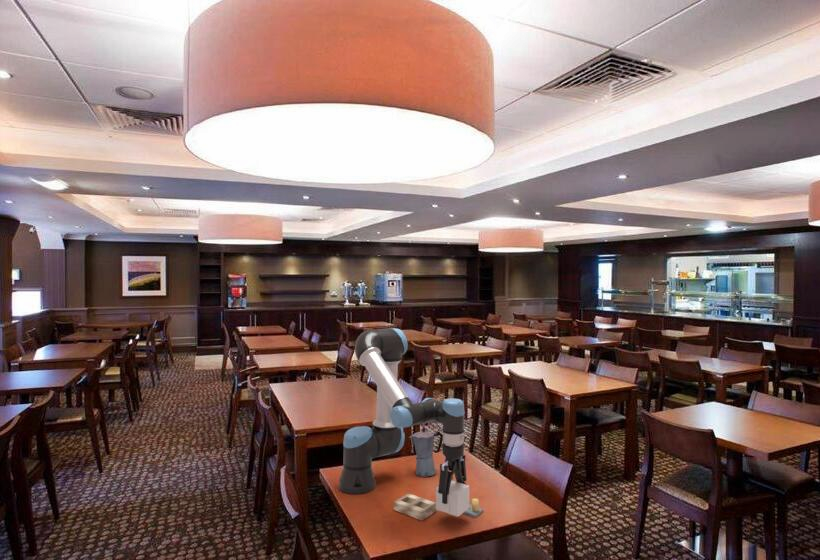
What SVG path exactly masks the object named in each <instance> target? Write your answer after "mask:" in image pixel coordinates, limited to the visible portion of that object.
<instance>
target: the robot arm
mask: <svg viewBox="0 0 820 560" xmlns="http://www.w3.org/2000/svg"><path fill="white" fill-rule="evenodd" d="M354 343H355V345H354V352H355V353H354V354H355V358H357V361H358V362H359V364H360V365H361V366H363V367H364V368H365V369H366V371H367V372H368V374H369V376H370V377H371V378H372V380H373V382H374V383H375V384H376V409H375V410H376V416H375V419H374V420H373V421H372V427H370V426H368V425H367V426H366V425H362V426H361V425H360V426H354V427H352V428H349V429H348V430H346V431H345V433H344V436H343V443H342V444H343V445H342V446H343V452H342V453H343V455H342V456H343V461H342V462H343V464H342V465H343V467H342V471H341V474H340V478H339V480H338V489H339V491H341V492H343V493H346V494H351V495H361V494H366V493H369V492H371V491H373V490H375V488H376V477H375V476H374V472H373V467H372V465H373V464H372V460H373V459H376V458H379V457H383V456H389V455H392V454H395V453H398V452H400V451H401V449H403V446H404V445H405V440H406V439H405V434H406V433H405V432H404V428H409V427H414V426H417V425H421V424H422V425H423V424H427V423H431V422H432V423H433V422H437V423H439V424H442V435H443V441H442V455H443V456H444V457H445V459H444V463H440V464H439V470H440V472H439V481H438V485H439V489H438V493H440V494H442V511H443V513H445V512H446V514H448V513H450V494H449V489H450V484H451V480H452V475H453V476H454V477H455V482H459V483H462V484H466V485H467V469H466V457H467V456H466V455H465V454H464V452H465V447H464V446H465V444H464V443H465V442H464V441H465V440H464V439H465V435H464V434H465V433H464V432H465V404H464V401H463V400H462V399H460V398H453V397H452V398H451V397H449V398H446V399H444V400H443V401H441V400H439V399H436V398H432V397H426V398H424V399H423V400H422V401H421V402H417V403H416V402H414V403H413V402H412V400H411V399H410V397H409V396H408V394H407V393H406V391H405V390H404V389H403V387H402V385H401V384H400V382H399V381H398V371H399V369H398V368H399V364H400V363H401V362H402V357H403V355H405V354H406V353H407V351H408V349H409V348H408V339H407V336H406V335H405V332H404V331H403V330H401V329H399V328H395V327H394V328H393V327H388V328H387V327H386V328H377V329H367V330H365V331H362V333H360V335H359V336H357V338H356V341H355V342H354ZM442 511H441V512H442Z"/></svg>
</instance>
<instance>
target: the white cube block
mask: <svg viewBox="0 0 820 560" xmlns="http://www.w3.org/2000/svg"><path fill="white" fill-rule="evenodd" d="M438 489H439V484H437V486H436V487H435V503H436V511H439V512H443V511H442V494H440V493H438ZM449 494H450V513H446V512H443V513H446V514H449V515H451V516H455V517H460V516H461V515H462V513H464V512H465V511H466V510H468V509H469V504H470V485H469V484H467V483H466V484H462V483H459V482H457V481H456V480H453V481H452V480H451V484H450V489H449Z"/></svg>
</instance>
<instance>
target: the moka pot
mask: <svg viewBox="0 0 820 560" xmlns="http://www.w3.org/2000/svg"><path fill="white" fill-rule="evenodd" d="M437 437H440V438H439V443H438V447H437V450H434V444H435V443H434V441H435V438H437ZM409 439H410V440H411V442H412V443H413V445H414V448H415V449H414V450H415V452H416V457H415V460H416V463H415V464H416V466H415V467H416V468H415V474H416V475H417V476H419V477H423V478H425V477H426V478H428V477H431V476H434V475H435V474H436V467H435V462H434V455H433V453H434V454H436V453H440V450H441V449H442V448H441V447H442V445H443V433H441V432H440V431H439V430H438V431H432V432H431V431H426V428H424V427H423V428H421V431H417V432H414V434H411V435H410V436H409ZM433 451H434V452H433Z"/></svg>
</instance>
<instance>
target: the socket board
mask: <svg viewBox="0 0 820 560" xmlns="http://www.w3.org/2000/svg"><path fill="white" fill-rule="evenodd" d="M393 511H396V512H399V513H402V514H404V515H406V516H409V517H411V518H414V519H416V520H420V521H424V520H426V519H427V518H428V517H431V516H432V515H433V514H434V513H436V512H437V510H436V501H435V502H434V501H431V500H429V499H427V498H423V497H419V496H417V495H415V494H411V493H409V492H408V493H406V494H405V495H403V496H401V497H399V498H398V499H395V501H393Z"/></svg>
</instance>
